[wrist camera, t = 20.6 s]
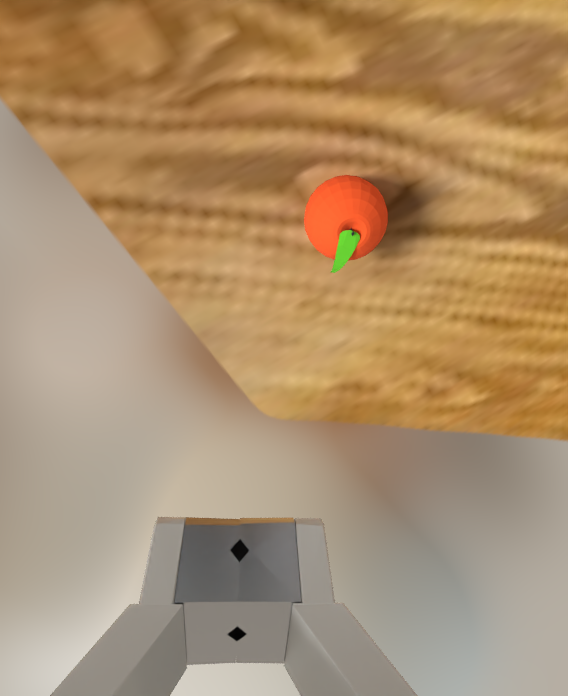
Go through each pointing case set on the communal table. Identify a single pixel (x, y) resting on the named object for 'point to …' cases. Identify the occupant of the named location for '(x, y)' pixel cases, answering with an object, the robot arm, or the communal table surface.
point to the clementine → (345, 218)
